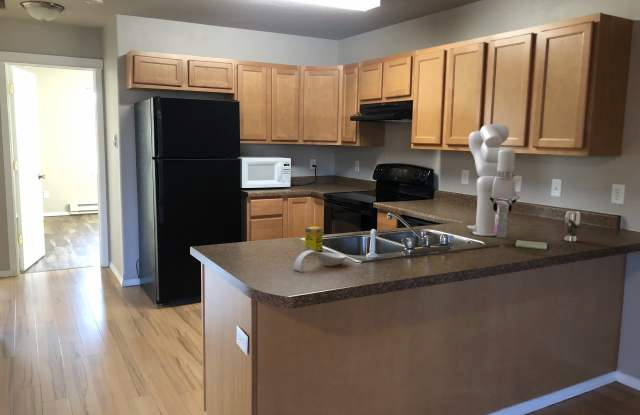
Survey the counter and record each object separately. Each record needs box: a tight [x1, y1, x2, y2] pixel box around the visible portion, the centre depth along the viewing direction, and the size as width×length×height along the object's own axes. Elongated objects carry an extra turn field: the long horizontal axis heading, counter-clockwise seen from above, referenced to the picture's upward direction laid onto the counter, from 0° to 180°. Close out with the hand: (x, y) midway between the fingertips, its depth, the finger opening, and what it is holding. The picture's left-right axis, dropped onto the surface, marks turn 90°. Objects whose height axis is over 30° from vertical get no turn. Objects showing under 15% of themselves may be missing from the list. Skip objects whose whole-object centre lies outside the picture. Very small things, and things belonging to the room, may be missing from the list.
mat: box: [514, 239, 548, 250], centre depth 251 cm, size 14×14×1 cm
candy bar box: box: [494, 200, 510, 239], centre depth 250 cm, size 11×5×16 cm, turn 168°
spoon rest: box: [293, 250, 347, 273], centre depth 202 cm, size 24×12×7 cm, turn 133°
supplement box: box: [304, 225, 324, 253], centre depth 227 cm, size 6×6×11 cm
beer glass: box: [563, 210, 581, 243], centre depth 262 cm, size 7×7×15 cm
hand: (502, 211), depth 249 cm, fingers closed on candy bar box, 5 cm apart
